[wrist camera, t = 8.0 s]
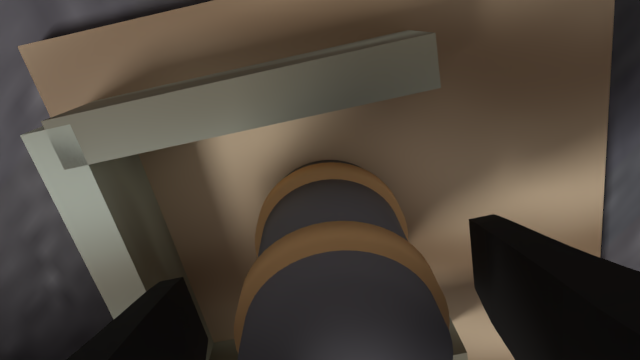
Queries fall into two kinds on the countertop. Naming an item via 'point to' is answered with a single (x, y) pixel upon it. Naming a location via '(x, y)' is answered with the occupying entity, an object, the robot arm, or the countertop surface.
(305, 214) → the banded gray cylinder
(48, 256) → the countertop surface
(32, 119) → the countertop surface
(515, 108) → the shelf
